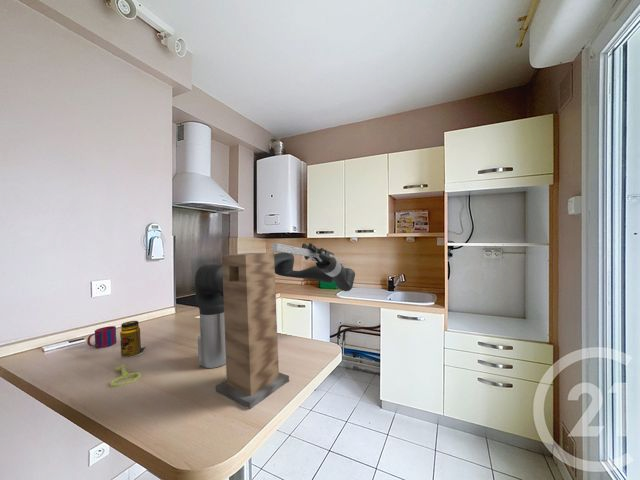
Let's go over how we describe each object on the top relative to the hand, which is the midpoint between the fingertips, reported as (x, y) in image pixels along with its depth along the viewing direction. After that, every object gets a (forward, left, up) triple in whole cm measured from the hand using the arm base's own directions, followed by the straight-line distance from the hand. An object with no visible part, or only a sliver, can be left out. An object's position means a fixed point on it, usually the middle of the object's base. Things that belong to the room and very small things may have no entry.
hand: (306, 245), depth 92 cm
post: (-13, -23, -38) cm, 47 cm away
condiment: (-68, -2, -39) cm, 78 cm away
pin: (-2, -4, -3) cm, 6 cm away
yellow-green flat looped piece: (-56, -19, -39) cm, 71 cm away
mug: (-87, +4, -39) cm, 96 cm away
